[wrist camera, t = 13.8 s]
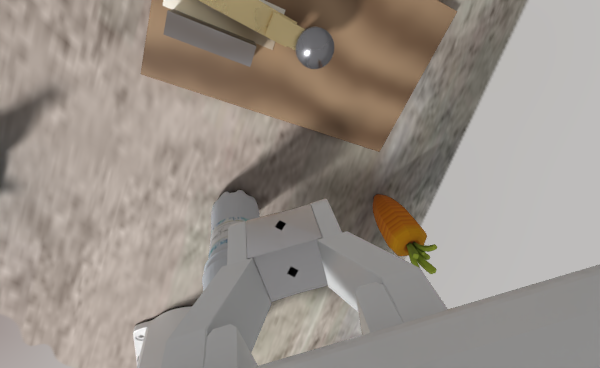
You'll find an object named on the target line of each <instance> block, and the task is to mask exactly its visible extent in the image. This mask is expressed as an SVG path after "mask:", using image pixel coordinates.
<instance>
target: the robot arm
mask: <svg viewBox="0 0 600 368" xmlns="http://www.w3.org/2000/svg"><path fill="white" fill-rule="evenodd" d="M324 286H328V287H329V288H330V289H332V290H333V291H334V292H335V293H336V294H338V295H339V296H340V297H341V298H342V299H343V300H345V301H346V302H347V303H348V304H349V305H350V306H352V307H353V308H354V309H355V310H356V311H358V312H359V318H360V325H361V331H362V335H361V336H358V337H354V338H351V339H348V340H344V341H341V342H337V343H334V344H331V345H327V346H324V347H321V348H317V349H314V350H310V351H307V352H304V353H300V354H297V355H294V356H290V357H287V358H283V359H280V360H277V361H273V362H270V363H267V364H263V365H260V366H258V365H257V363H256V361H255V360H254V358H253V356H252V354H251V352H252V349H253V347H254V345H255V342H256V340H257V337H258V335H259V333H260V330H261V328H262V325H263V323H264V321H265V318H266V316H267V313H268V311H269V309H270V306H271V304H272V303H271V302H272V301H276V300H279V299H282V298H285V297H288V296H291V295H294V294H298V293H299V292H300V293H301V292H305V291H309V290H313V289H316V288H320V287H324ZM133 337H134V344H135V352H136V360H137V368H600V265H596V266H593V267H590V268H586V269H583V270H580V271H576V272H573V273H570V274H566V275H563V276H559V277H556V278H553V279H549V280H546V281H543V282H539V283H536V284H532V285H529V286H526V287H522V288H519V289H516V290H512V291H509V292H506V293H502V294H499V295H495V296H492V297H489V298H485V299H482V300H479V301H475V302H472V303H468V304H465V305H462V306H458V307H455V308H451V309H447V307H446V306H445V304H444V303H443V301H442V300H441V298H440V297H439V295H438V294H437V292H436V291H435V290H434V288H433V287H432V285H431V284H430V282H429V281H428V279H427V278H426V276H425V275H424V273H423V272H422V270H421V269H420V268H419V267H417V266H415V265H413V264H411V263H409V262H407V261H405V260H403V259H401V258H399V257H397V256H395V255H393V254H391V253H389V252H387V251H385V250H383V249H381V248H379V247H377V246H375V245H374V244H372V243H370V242H368V241H366V240H364V239H362V238H360V237H358V236H356V235H354V234H352V233H350V232H348V231H346V232H342V231H341V228H340V226H339V224H338V222H337V220H336V217H335V215H334V213H333V211H332V209H331V206H330V204H329V202H328V200H327V199H326V198H325V199H322V200H319V201H316V202H312V203H310V204H308V205H304V206H300V207H297V208H293V209H290V210H286V211H283V212H278V213H274V214H270V215H266V216H262V217H258V218H254V219H251V220H247V221H243V222H239V223H236V224H232V225H230V226H229V228H228V251H227V265H226V266H222V267H221V269H220V270H219V271H218V273H217V274H216V275H215V277H214V278H213V279H212V281H211V282H210V283H209V285H208V286H207V287H206V289H205V290H204V291H203V293H202V294H201V295H200V297H199V298H198V299H197V301H196V302H195V303H194V305H193V306H192V307H182V308H177V309H173V310H170V311H167V312H165V313H163V314H161V315H159V316H158V317H156V318H155V319H153V320H151V321H148V322H144V323H141V324H138V325H136V326H135V327H134V331H133Z"/></svg>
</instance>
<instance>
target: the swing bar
mask: <svg viewBox="0 0 600 368" xmlns="http://www.w3.org/2000/svg"><path fill="white" fill-rule="evenodd" d="M198 1H200V2H202V3H204V4H206V5H208V6H210V7H211V8H213V9H215V10H217V11H219V12H221V13H223V14H225V15H226V16H228V17H230V18H232V19H234V20H236V21H238V22H239V23H241V24H243V25H245V26H247V27H249V28H251V29H253V30H254V31H256V32H258V33H260V34H262V35H264V36H266V37H268V38H269V39H271V40H273V41H275V42H277V43H279V44H281V45H283V46H284V47H287V46H288V47H290V48H291V49H293V50H295V53H296V56H297V58H298V60H299V61H300V62H301V63H302V64H303V65H304V66H305V67H307V68H310V69H319V68H322V67H324V66H325V65H327V64H328V63H329V61H330V60H331V58H332V56H333V53H334V41H333V38H332V36H331V35H330V33H329V32H328V31H326V30H325V29H323V28H320V27H316V26H312V27H308V28H306V29H303V28H302V27H300V26H298V25H297V22H296V21H294V20H292V19H290V18H289V17H287V16H285V15H284V14H282V13H280V12H278V11H277V10H275V9H273V8H271V7H270V6H268V5H266V4H265V3H263V2H261V1H259V0H198Z"/></svg>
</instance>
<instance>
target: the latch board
mask: <svg viewBox="0 0 600 368" xmlns="http://www.w3.org/2000/svg"><path fill="white" fill-rule="evenodd" d="M259 1H261V2H263V3H265V4H266V5H268V6H270V7H271V8H273V9H275V10H277V11H278V12H280V13H282V14H284V15H285V16H287V17H289V18H290V19H292V20H294V21H296V22H297V25H298V26H300V27H302V28H303V29H306V28H308V27H312V26H316V27H320V28H323V29H325V30H326V31H328V32H329V33H330V35H331V36H332V38H333V41H334V53H333V56H332V58H331V60H330V61H329V63H328V64H327V65H325V66H324V67H322V68H319V69H310V68H307V67H305V66H304V65H303V64H302V63H301V62H300V61H299V60H298V58H297V56H296V53H295V50H293V49H291V48H290V47H288V46H287V47H284V46H283V45H281V44H279V43H277V42H275V41H273V40H271V39H269V38H268V37H266V36H264V35H262V34H260V33H258V32H256V31H254V30H253V29H251V28H249V27H247V26H245V25H243V24H241V23H239V22H238V21H236V20H234V19H232V18H230V17H228V16H226V15H225V14H223V13H221V12H219V11H217V10H215V9H213V8H211V7H210V6H208V5H206V4H204V3H202V2H200V1H198V0H152V2H151V8H150V15H149V22H148V28H147V35H146V42H145V48H144V55H143V62H142V69H141V74H142V75H145V76H148V77H151V78H154V79H157V80H160V81H164V82H167V83H170V84H173V85H176V86H179V87H182V88H185V89H188V90H191V91H194V92H197V93H200V94H203V95H206V96H210V97H213V98H216V99H219V100H222V101H225V102H228V103H231V104H234V105H237V106H240V107H243V108H246V109H249V110H252V111H255V112H259V113H262V114H265V115H268V116H271V117H274V118H277V119H280V120H283V121H286V122H289V123H292V124H295V125H298V126H301V127H305V128H308V129H311V130H314V131H317V132H320V133H323V134H326V135H329V136H332V137H335V138H338V139H341V140H344V141H347V142H350V143H354V144H357V145H360V146H363V147H366V148H369V149H372V150H375V151H378V152H380V150H381V148H382V146H383V145H384V143H385V141H386V139H387V137H388V136H389V134H390V132H391V130H392V128H393V127H394V125H395V123H396V121H397V119H398V118H399V116H400V114H401V112H402V110H403V108H404V107H405V105H406V103H407V101H408V99H409V98H410V96H411V94H412V92H413V90H414V89H415V87H416V85H417V83H418V81H419V80H420V78H421V76H422V74H423V72H424V71H425V69H426V67H427V65H428V63H429V62H430V60H431V58H432V56H433V54H434V53H435V51H436V49H437V47H438V45H439V44H440V42H441V40H442V38H443V36H444V35H445V33H446V31H447V29H448V27H449V26H450V24H451V22H452V20H453V18H454V17H455V15H456V13H457V11H455V10H454V9H452V8H450V7H448V6H447V5H445V4H443V3H441V2H440V1H438V0H259Z"/></svg>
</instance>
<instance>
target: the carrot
mask: <svg viewBox="0 0 600 368" xmlns="http://www.w3.org/2000/svg"><path fill="white" fill-rule="evenodd" d="M373 213H374V217H375V220H376V223H377V226H378V228H379V230H380V232H381V234H382V236H383V237H384V239H385V241H386V243H387V244H388V246H389V247H390V248H391V249H392V250H393V251H394V252H395V253H396V254H397V255H398V256H408V255H409V257H410V260H411V263H412V264H413V265H415V266H417V267H419V265H418V263H419V264H420V265H421V266H422V267H423V268H424V269H425V270H426V271H427V272H429V273H430V274H433V273H435V272H436V268H435V267H433V266H432V265H431V264H430V263H428V262H427V261H426V260H428V259H430V256H429V255H428V254H426V253H425V251H427V252H429V251H433V250H435V249H437V246H436V245H435V244H434V245H430V246H424V243H425V240H426V237H427V235H426V233H425V231H424V230H423V229H422V228H421V226H420V225H419V224H418V223H417V222H416V220H415V219H414V218H413V217H412V216H411V215H410V214H409V212H408V211H407V210H406V209H405V208H404V207H403V206H402V205H400V204H399V203H398V202H396V201H395V200H394V199H392V198H390V197H388V196H385V195H381V194H377V195H375V196H374V201H373ZM417 262H418V263H417ZM419 268H420V267H419Z"/></svg>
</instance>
